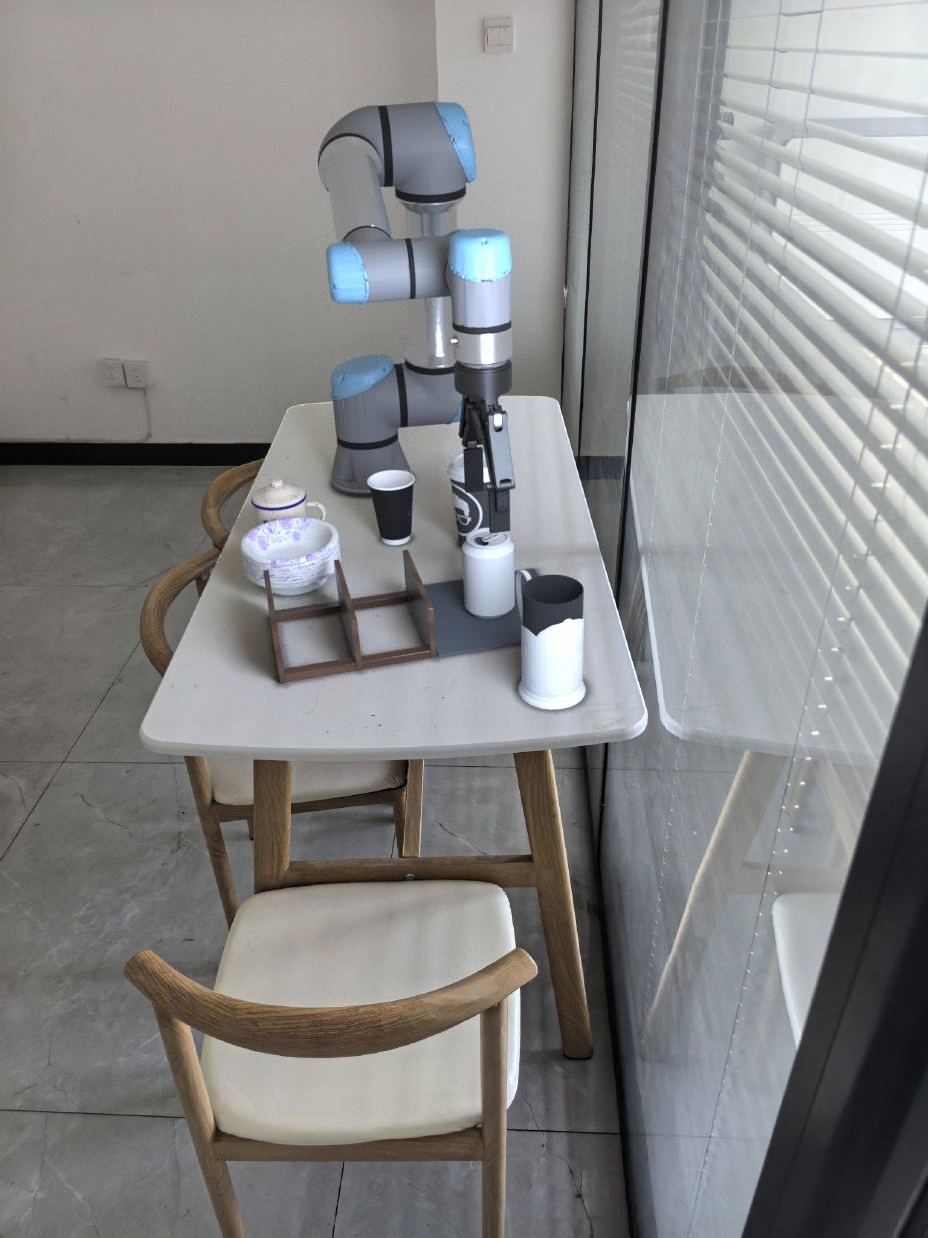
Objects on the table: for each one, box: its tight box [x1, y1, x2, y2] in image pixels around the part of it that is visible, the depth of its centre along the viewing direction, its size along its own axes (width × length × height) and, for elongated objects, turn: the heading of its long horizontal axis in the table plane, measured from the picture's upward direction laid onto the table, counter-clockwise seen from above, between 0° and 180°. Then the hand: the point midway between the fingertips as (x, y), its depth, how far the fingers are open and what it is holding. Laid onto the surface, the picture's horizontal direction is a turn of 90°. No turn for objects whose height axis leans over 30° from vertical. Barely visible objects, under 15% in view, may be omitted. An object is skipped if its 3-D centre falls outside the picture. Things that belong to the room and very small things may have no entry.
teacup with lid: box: [250, 477, 327, 526], centre depth 162 cm, size 12×9×12 cm
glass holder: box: [516, 569, 587, 711], centre depth 124 cm, size 9×14×15 cm, turn 24°
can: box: [461, 528, 516, 619], centre depth 140 cm, size 8×8×12 cm
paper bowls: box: [239, 516, 342, 596], centre depth 151 cm, size 15×15×8 cm
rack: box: [263, 549, 438, 684], centre depth 136 cm, size 18×21×8 cm
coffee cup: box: [446, 450, 490, 549], centre depth 158 cm, size 10×10×15 cm
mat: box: [423, 567, 540, 658], centre depth 143 cm, size 20×20×1 cm
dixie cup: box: [367, 470, 416, 546], centre depth 162 cm, size 8×8×11 cm
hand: (486, 510), depth 135 cm, fingers open, 13 cm apart
